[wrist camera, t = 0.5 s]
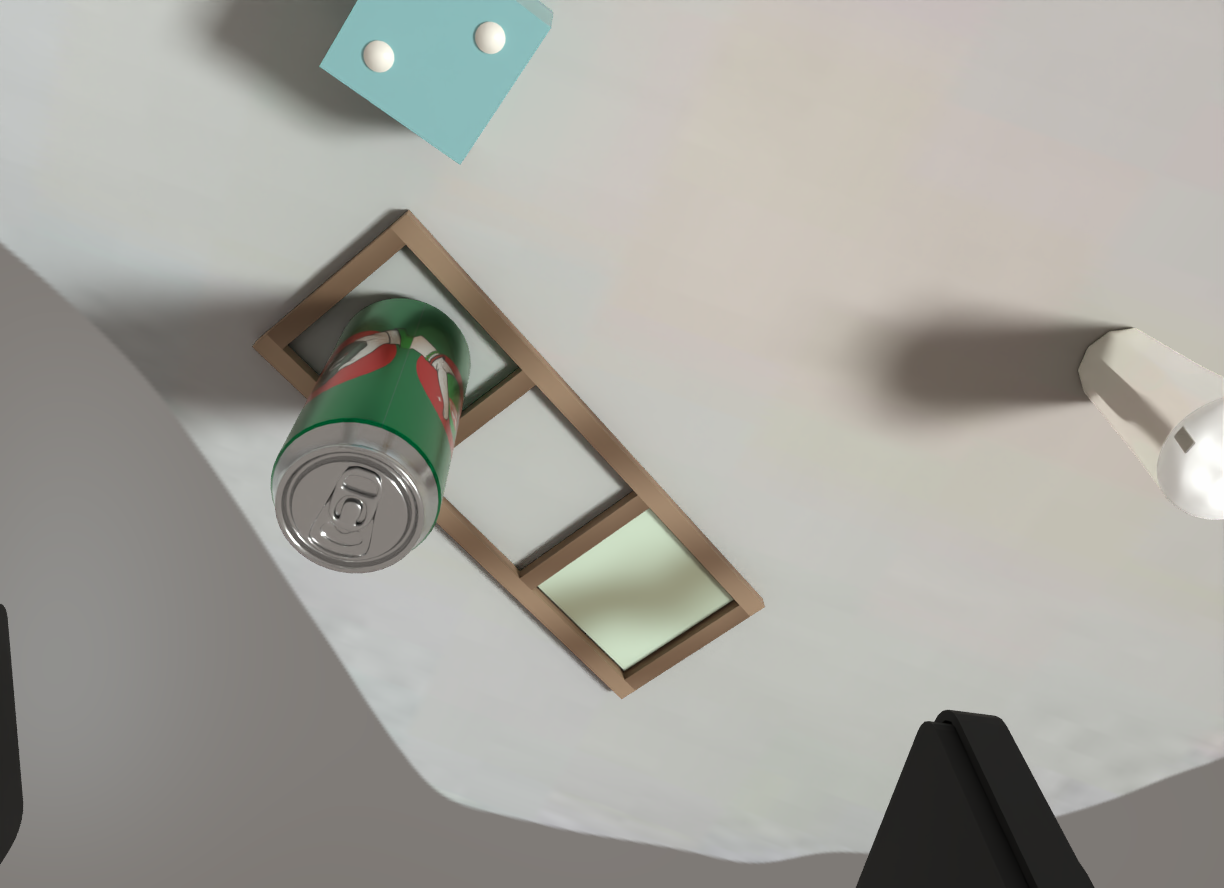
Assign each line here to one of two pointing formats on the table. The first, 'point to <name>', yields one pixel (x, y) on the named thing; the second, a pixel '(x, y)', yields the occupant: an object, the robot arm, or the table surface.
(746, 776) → the table surface
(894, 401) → the table surface
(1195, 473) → the milkshake
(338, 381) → the soda can
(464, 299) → the wooden frame
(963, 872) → the robot arm
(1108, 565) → the table surface
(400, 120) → the die
